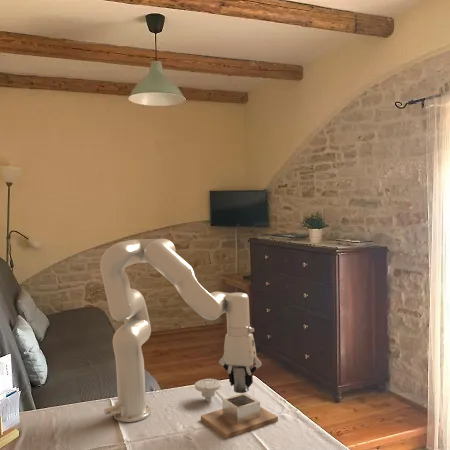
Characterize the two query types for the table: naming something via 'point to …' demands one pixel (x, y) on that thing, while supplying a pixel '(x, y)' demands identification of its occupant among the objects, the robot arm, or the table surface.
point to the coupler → (240, 379)
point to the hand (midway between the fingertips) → (241, 384)
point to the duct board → (238, 416)
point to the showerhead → (208, 387)
